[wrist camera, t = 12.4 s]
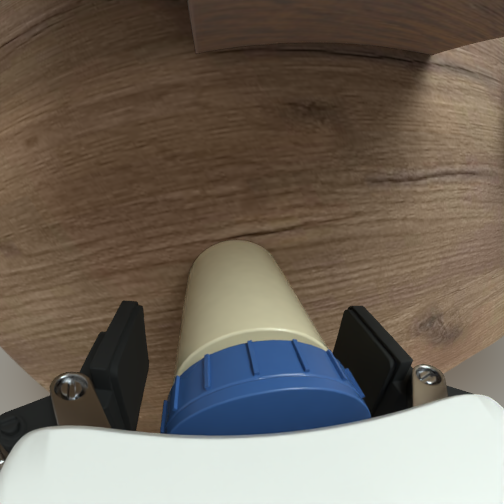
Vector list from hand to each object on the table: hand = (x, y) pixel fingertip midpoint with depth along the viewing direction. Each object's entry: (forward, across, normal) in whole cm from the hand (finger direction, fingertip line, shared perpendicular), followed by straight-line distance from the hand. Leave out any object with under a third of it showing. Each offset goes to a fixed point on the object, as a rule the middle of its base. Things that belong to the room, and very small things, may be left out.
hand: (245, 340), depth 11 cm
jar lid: (-5, 0, 0) cm, 5 cm away
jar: (+5, 0, 0) cm, 5 cm away
